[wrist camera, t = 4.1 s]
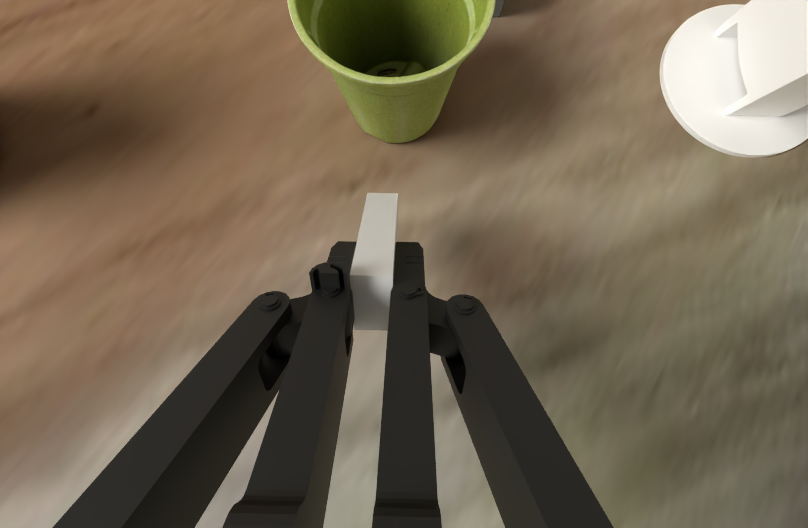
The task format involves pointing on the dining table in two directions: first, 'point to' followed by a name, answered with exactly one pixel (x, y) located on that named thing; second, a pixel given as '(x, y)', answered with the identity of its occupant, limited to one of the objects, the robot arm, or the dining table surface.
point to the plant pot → (392, 55)
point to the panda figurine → (741, 77)
